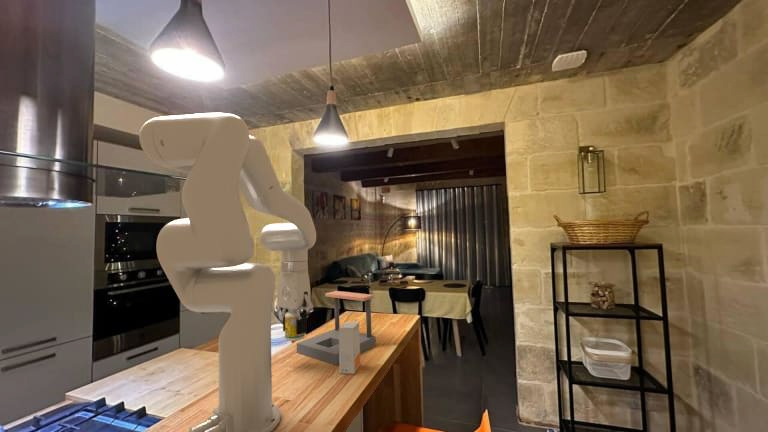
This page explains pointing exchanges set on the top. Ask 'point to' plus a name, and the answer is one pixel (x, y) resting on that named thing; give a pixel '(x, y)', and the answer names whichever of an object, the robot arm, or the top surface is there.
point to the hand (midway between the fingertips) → (294, 331)
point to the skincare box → (349, 347)
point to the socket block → (337, 333)
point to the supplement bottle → (292, 326)
